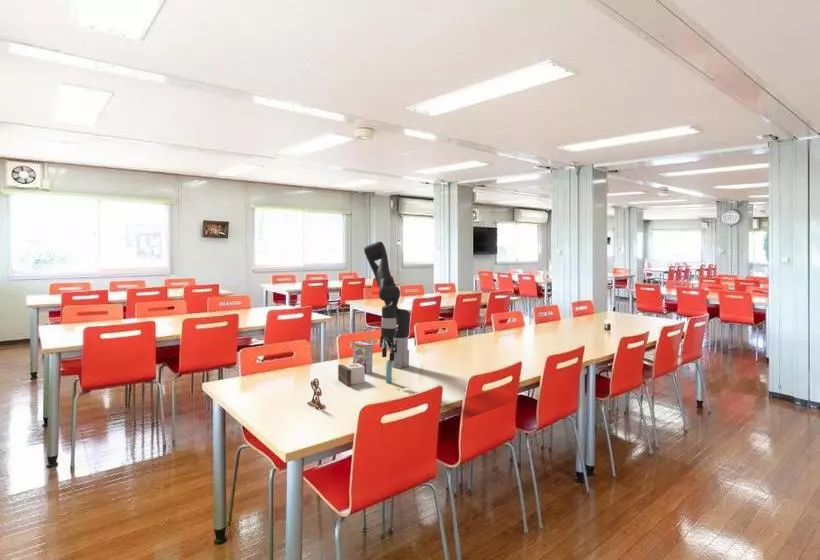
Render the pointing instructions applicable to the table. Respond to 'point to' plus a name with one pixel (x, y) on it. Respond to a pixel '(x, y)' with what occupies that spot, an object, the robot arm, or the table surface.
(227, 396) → the table surface
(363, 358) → the candy bar box
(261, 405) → the table surface
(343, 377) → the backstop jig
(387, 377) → the teal dowel
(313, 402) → the brown carved figurine
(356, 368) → the socket block
